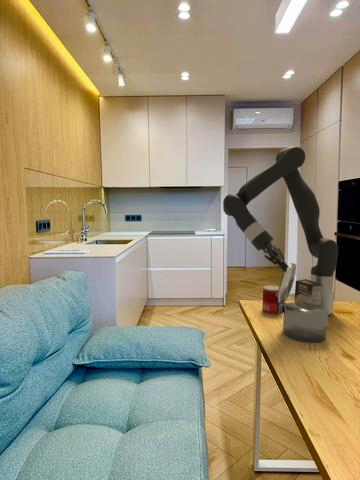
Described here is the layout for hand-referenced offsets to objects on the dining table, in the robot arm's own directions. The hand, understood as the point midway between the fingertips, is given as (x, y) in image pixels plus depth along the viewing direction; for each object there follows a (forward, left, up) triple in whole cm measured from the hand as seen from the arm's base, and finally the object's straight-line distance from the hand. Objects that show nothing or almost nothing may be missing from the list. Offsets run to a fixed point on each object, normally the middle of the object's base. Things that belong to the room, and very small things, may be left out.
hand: (288, 270), depth 122 cm
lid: (0, +1, -5) cm, 5 cm away
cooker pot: (-4, +6, -23) cm, 24 cm away
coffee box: (-17, -7, -23) cm, 29 cm away
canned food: (-9, -20, -23) cm, 32 cm away
